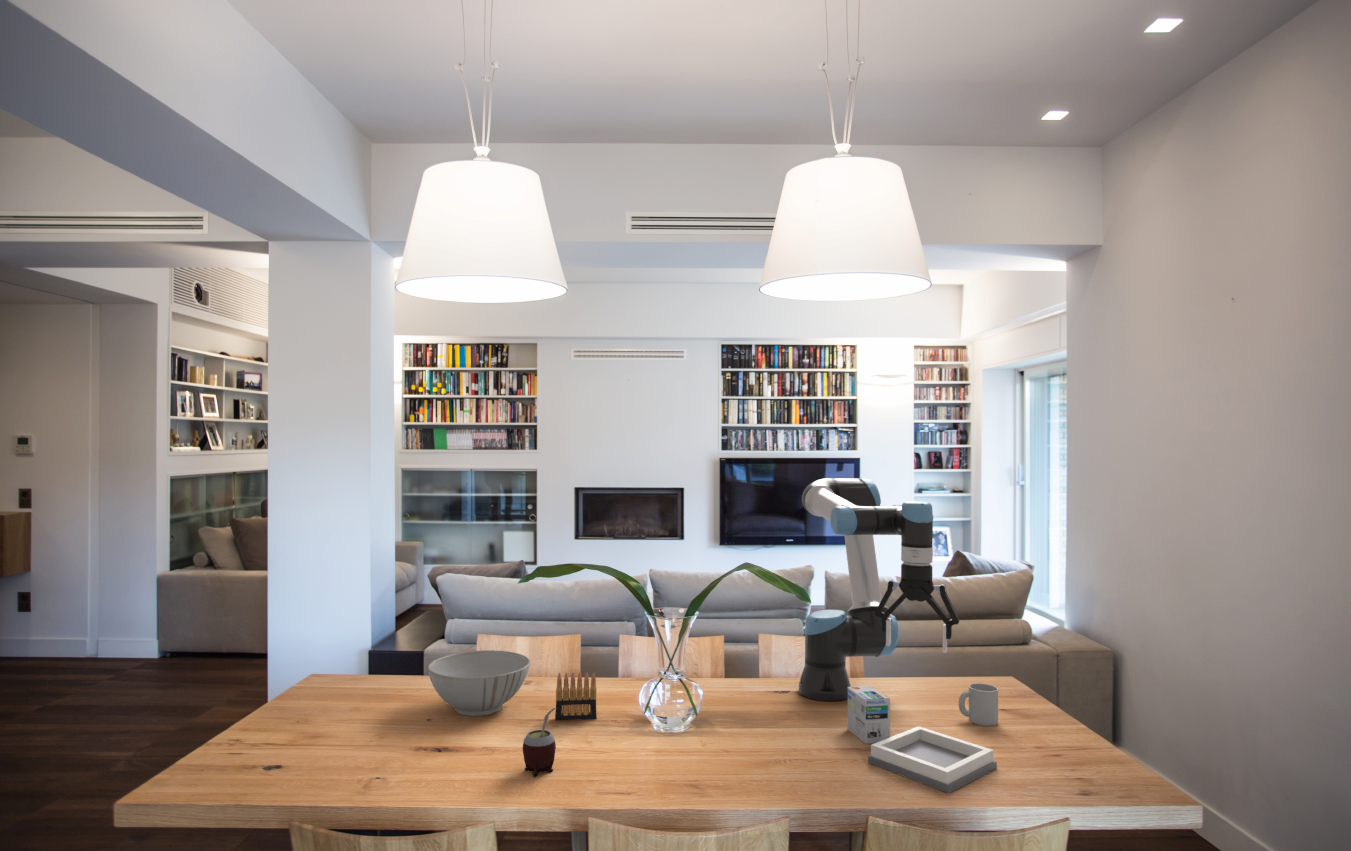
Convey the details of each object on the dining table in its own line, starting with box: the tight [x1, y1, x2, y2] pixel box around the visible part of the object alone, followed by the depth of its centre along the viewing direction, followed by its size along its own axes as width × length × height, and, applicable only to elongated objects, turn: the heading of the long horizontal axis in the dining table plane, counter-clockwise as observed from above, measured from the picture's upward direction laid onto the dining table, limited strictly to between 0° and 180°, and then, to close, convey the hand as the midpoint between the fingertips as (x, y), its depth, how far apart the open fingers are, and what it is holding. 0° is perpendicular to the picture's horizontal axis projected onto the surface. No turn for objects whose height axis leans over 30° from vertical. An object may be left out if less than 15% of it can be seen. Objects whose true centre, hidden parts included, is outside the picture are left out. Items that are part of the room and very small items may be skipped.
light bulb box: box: [847, 685, 891, 745], centre depth 192 cm, size 11×7×11 cm, turn 12°
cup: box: [958, 682, 999, 727], centre depth 203 cm, size 7×10×9 cm
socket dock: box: [867, 725, 998, 794], centre depth 174 cm, size 20×20×4 cm
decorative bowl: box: [427, 649, 531, 717], centre depth 209 cm, size 27×27×12 cm
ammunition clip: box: [554, 671, 598, 722], centre depth 202 cm, size 11×2×12 cm, turn 98°
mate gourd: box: [522, 707, 557, 778], centre depth 169 cm, size 8×8×15 cm
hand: (916, 648), depth 194 cm, fingers open, 13 cm apart
